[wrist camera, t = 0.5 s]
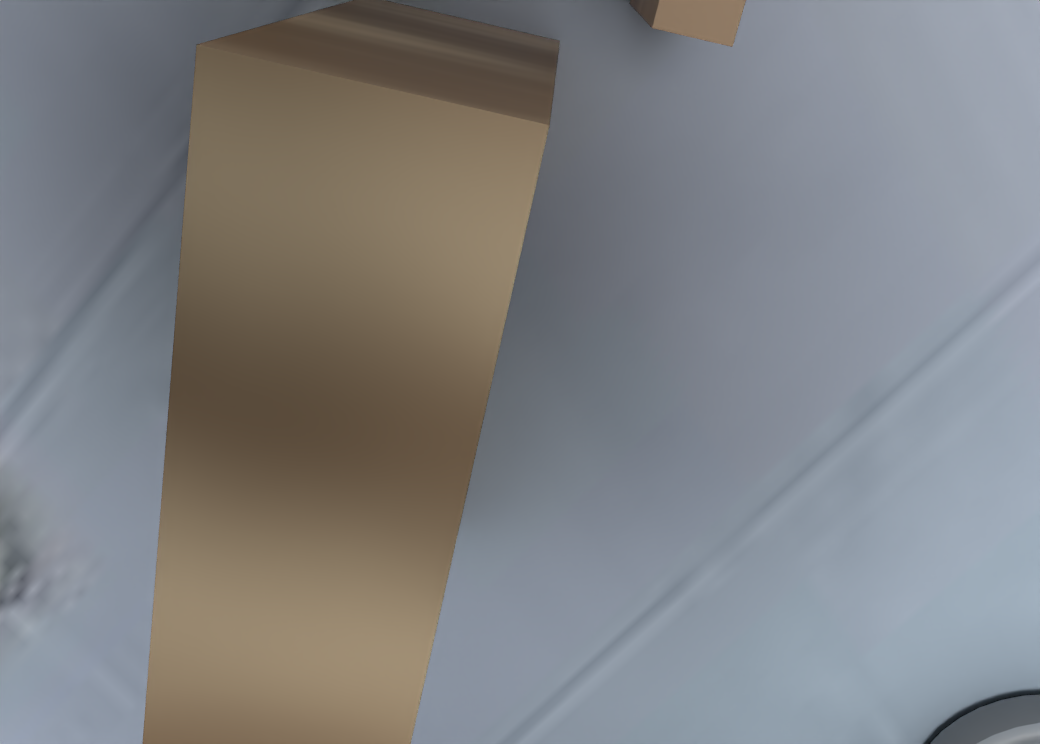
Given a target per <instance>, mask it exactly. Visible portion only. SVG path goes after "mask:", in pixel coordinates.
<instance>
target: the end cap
mask: <svg viewBox="0 0 1040 744" xmlns="http://www.w3.org/2000/svg"><path fill="white" fill-rule="evenodd" d="M745 2H746V0H630V5H631V6H632V7H633V8H634V9H635V10H636V11H637V12H638V13H639V14H640V15H641V16H642V18H643V19H644V20H645V21H646V22H647V23H648V24H649V25H650V26H651V27H652V28H654V29H658V30H663V31H667V32H671V33H675V34H680V35H684V36H688V37H693V38H697V39H701V40H705V41H710V42H714V43H718V44H722V45H727V46H731V47H732V46H733V43H734V39H735V36H736V33H737V29H738V26H739V22H740V19H741V15H742V12H743V8H744V5H745Z"/></svg>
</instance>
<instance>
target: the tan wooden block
mask: <svg viewBox="0 0 1040 744" xmlns="http://www.w3.org/2000/svg"><path fill="white" fill-rule="evenodd" d="M559 44H560V41H558V40H554V39H550V38H545V37H541V36H537V35H532V34H528V33H524V32H519V31H515V30H511V29H506V28H502V27H498V26H493V25H489V24H485V23H481V22H476V21H472V20H468V19H463V18H459V17H455V16H450V15H446V14H442V13H437V12H433V11H429V10H424V9H420V8H416V7H412V6H407V5H403V4H399V3H394V2H390V1H386V0H353V1H349V2H346V3H342V4H338V5H335V6H331V7H328V8H324V9H321V10H317V11H314V12H310V13H307V14H303V15H300V16H296V17H292V18H289V19H285V20H282V21H278V22H275V23H271V24H268V25H264V26H261V27H257V28H254V29H250V30H246V31H243V32H239V33H236V34H232V35H229V36H225V37H222V38H218V39H215V40H211V41H208V42H204V43H200V44H197V46H196V59H195V72H194V85H193V98H192V111H191V123H190V136H189V149H188V162H187V175H186V188H185V201H184V214H183V227H182V240H181V253H180V266H179V279H178V292H177V305H176V318H175V331H174V344H173V357H172V370H171V383H170V396H169V409H168V422H167V434H166V447H165V460H164V473H163V486H162V499H161V512H160V525H159V538H158V551H157V564H156V577H155V590H154V603H153V616H152V629H151V642H150V655H149V668H148V681H147V694H146V707H145V720H144V733H143V744H411V739H412V735H413V730H414V726H415V722H416V717H417V713H418V708H419V704H420V699H421V695H422V690H423V686H424V681H425V677H426V673H427V668H428V664H429V659H430V655H431V650H432V646H433V641H434V637H435V633H436V628H437V624H438V619H439V615H440V610H441V606H442V601H443V597H444V592H445V588H446V584H447V579H448V575H449V570H450V566H451V561H452V557H453V552H454V548H455V544H456V539H457V535H458V530H459V526H460V521H461V517H462V512H463V508H464V503H465V499H466V495H467V490H468V486H469V481H470V477H471V472H472V468H473V463H474V459H475V455H476V450H477V446H478V441H479V437H480V432H481V428H482V423H483V419H484V414H485V410H486V406H487V401H488V397H489V392H490V388H491V383H492V379H493V374H494V370H495V366H496V361H497V357H498V352H499V348H500V343H501V339H502V334H503V330H504V325H505V321H506V317H507V312H508V308H509V303H510V299H511V294H512V290H513V285H514V281H515V277H516V272H517V268H518V263H519V259H520V254H521V250H522V245H523V241H524V236H525V232H526V228H527V223H528V219H529V214H530V210H531V205H532V201H533V196H534V192H535V188H536V183H537V179H538V174H539V170H540V165H541V161H542V156H543V152H544V147H545V143H546V139H547V134H548V130H549V125H550V117H551V109H552V101H553V93H554V85H555V76H556V68H557V60H558V52H559Z"/></svg>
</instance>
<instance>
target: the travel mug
mask: <svg viewBox="0 0 1040 744" xmlns="http://www.w3.org/2000/svg"><path fill="white" fill-rule="evenodd" d="M930 744H1040V695H1024V696H1019V697H1014V698H1009V699H1004V700H1000V701H997V702H994V703H991V704H988V705H985V706H982V707H980V708H978V709H976V710H974V711H972V712H970V713H968V714H966V715H964V716H962V717H960V718H959V719H957V720H956V721H955V722H953V723H952V724H951V725H949V726H948V727H947V728H945V729H944V730H943V731H941V732H940V733H939V735H938V736H937V737H936V738H935V739H934V740H933V741H932V742H931V743H930Z"/></svg>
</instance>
